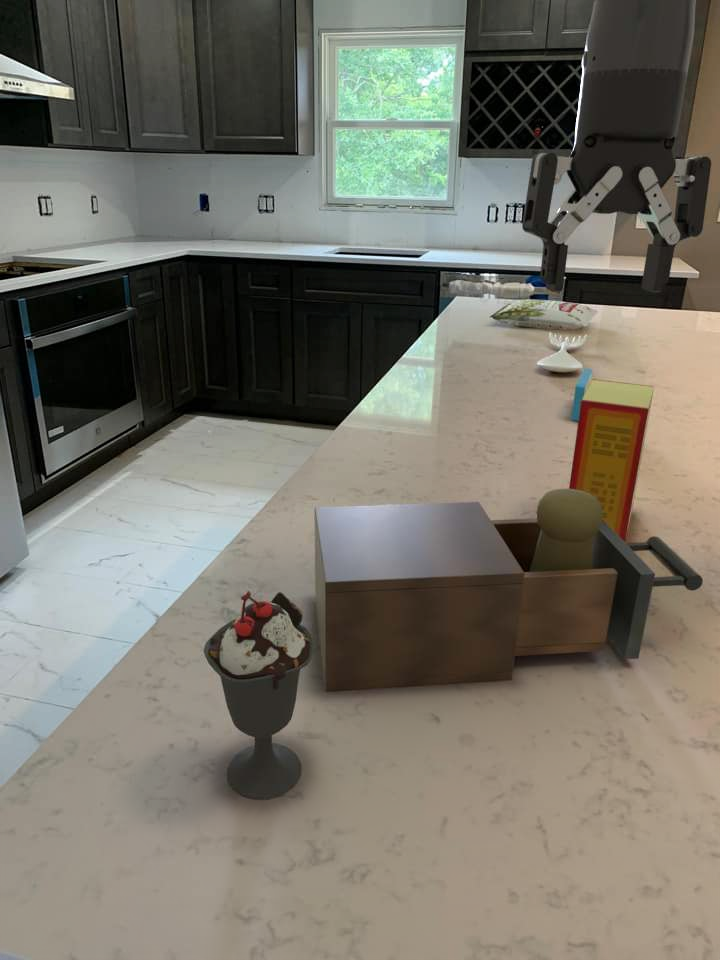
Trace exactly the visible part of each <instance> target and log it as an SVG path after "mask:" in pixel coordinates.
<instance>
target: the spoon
mask: <svg viewBox="0 0 720 960" xmlns="http://www.w3.org/2000/svg"><path fill="white" fill-rule="evenodd" d="M587 334H588V333H587ZM587 334H585V335H584V337H582V336H581V335H579V337H578V339H577V337H576V336H574V337H573V339H572V340H570V336H566V338H564V341H563V337H562V335H560V336H559V338H558V335H557V334H555V335H553V333H552V331H550V332H549V334H548V338H549V341H550V343H551V344H552V346H553V347H555V348H557V349H559V350H558V351H557V352H555V353H553V354H551V355H548V356H546V357H544V358H541V359H540V360H538V361H537V363H536V364H537V365H538V367H540V368H542V369H544V370H547V371H549V372H555V373H559V374H560V373H571V372H576V371H578V370H581V369H583V367H584V365H583V364H582V363H581V362H580V360H577V359H576V358H575V357H573V356H572V355H571V354H569V353H568V352H567V351H571V350H575V349H577V348H580V347H581V346H582V345H584V343H585V342H586V341H587V340H588V339H587V338H588V335H587Z"/></svg>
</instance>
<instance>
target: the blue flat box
mask: <svg viewBox="0 0 720 960" xmlns="http://www.w3.org/2000/svg"><path fill="white" fill-rule="evenodd" d="M593 376H594V369H590V368H583V371H582V372H581V374H580V376H579V378H578V380H577V382H576V384H575V388H574V396H573V403H572V409H571V410H572V411H571V418H570V421H571V422H572V421H573V422H578V421H579V414H580V406H581V400H582V399H583V397H584V395H585V393H586V392H587V390H588V388H589V386H590V384H591V383H592V381H593Z"/></svg>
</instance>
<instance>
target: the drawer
mask: <svg viewBox="0 0 720 960" xmlns="http://www.w3.org/2000/svg"><path fill="white" fill-rule="evenodd" d="M490 520H491V522H492V523H493V525H494V526H495V528H496V529H497V531H498V533H499V534H500V536H501V537H502V539H503V540H504V542H505V543H506V545H507V547H508V548H509V550H510V551H511V553H512V554H513V556H514V557H515V559H516V561H517V562H518V564H519V565H520V567H521V568H522V570H523V572H524V573H525V574H524V583H523V592H522V601H521V609H520V617H519V626H518V634H517V643H516V651H515V657H521V656H538V655H539V656H540V655H555V654H572V653H588V652H589V653H591V652H604V651H605V649H606V642H607V637H608V638H609V640H610V641H611V642H612V644H613V645H614V647H615V648H616V650H617V651H618V652H619V653H620V655H621V656H622V658H623V659H624V660H636V659H637V660H638V659H639V657H640V653H641V649H642V648H641V647H642V643H643V637H644V632H645V628H646V623H647V617H648V612H649V608H650V602H651V598H652V593H653V588H655V587H676V586H683V587H684V588H685V589H687V590H688V591H692V592H693V591H697V590H698V589H700V588H701V587H702V585H703V583H704V580H703V577H702V576H701V575H700V574H699V573H698V572H697V571H696V570H695V569H694V568H693V567H691V566H690V565H689V563H687V562H686V561H685V560H684V559H683V558H682V557H681V556H680V555H679V554H677V552H675V551H674V549H673V548H671V547H670V546H669V545H668V544H667V543H666V542H665V541H664V540H663V539H662V538H660V537H659V536H650V537H649V538H648V539H647V540H646V541H640V542H626V541H625V542H624V541H623V540H622V539H621V538H620V537H619V536H618V535H617V534H616V533H615V532H614V531H613V530H612V529H611V527H610V526H609V525H608V524H607V523H606V522H605V521H604V520H603V519H602V523H601V525H600V527H599V529H598V531H597V533H596V534H595V535H594V536H593V537H592V569H586V570H564V571H543V572H530V568H531V565H532V561H533V557H534V554H535V550H536V546H537V543H538V539H539V536H540V532H541V528H540V526H539V524H538V521H537V518H517V519H515V518H514V519H513V518H512V519H490ZM643 551H644V552H647V551H648V552H649V553H650V554H651V555H652V556H653V557H654V558H655V559H656V560H657V561H658V562H659V563H660V564H661V565H662V566H663V567H664V568H665V569H666V570H667V571H668V572H669V573H670V574H671V576H669V575H668V576H656V573H655V572H654V571H653V570H652V569H651V568H650V567H649V565H647V564H646V562H644V560H643V559H641V557H640V556H638V554H637V553H636V552H643Z"/></svg>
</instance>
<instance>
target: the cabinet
mask: <svg viewBox="0 0 720 960" xmlns="http://www.w3.org/2000/svg"><path fill="white" fill-rule="evenodd" d="M491 520H492V519H491V518H490V517H489V515H488V514H487V512H486V511H485V509H484V508H483V506H482V504H481V503H480V501H464V502H461V501H460V502H459V501H458V502H434V503H406V504H404V503H403V504H377V505H373V504H372V505H349V506H346V505H345V506H322V507H321V506H319V507H318V506H317V507H314V596H315V597H314V603H315V613H316V622H317V629H318V639H319V647H320V656H321V666H322V674H323V683H324V692H325V693H333V692H334V693H336V692H349V691H351V692H352V691H364V690H380V689H382V690H383V689H398V688H409V687H410V688H413V687H415V688H416V687H429V686H444V685H445V686H446V685H458V684H459V685H461V684H475V683H476V684H477V683H490V682H491V683H492V682H493V683H494V682H505V681H506V682H508V681H509V682H510V681H512V680H513V675H514V666H515V659H516V656H515V651H516V643H517V634H518V626H519V617H520V609H521V601H522V592H523V583H524V574H525V573H524V572H523V570H522V568H521V567H520V565H519V564H518V562H517V561H516V559H515V557H514V556H513V554H512V553H511V551H510V550H509V548H508V547H507V545H506V543H505V542H504V540H503V539H502V537H501V536H500V534H499V533H498V531H497V529H496V528H495V526H494V525H493V523H492V522H491Z"/></svg>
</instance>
